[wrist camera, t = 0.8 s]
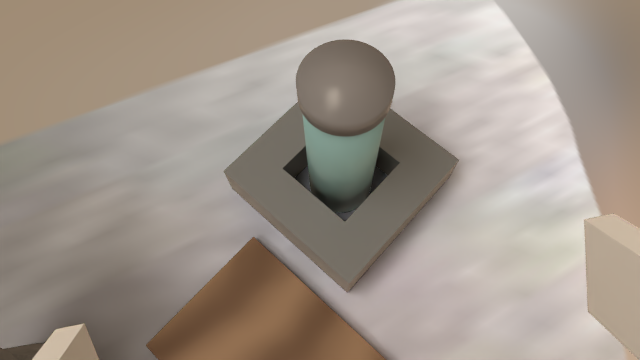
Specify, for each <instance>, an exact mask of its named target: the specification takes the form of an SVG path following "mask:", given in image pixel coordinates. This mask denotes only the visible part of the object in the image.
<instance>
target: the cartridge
mask: <svg viewBox="0 0 640 360" xmlns="http://www.w3.org/2000/svg"><path fill="white" fill-rule="evenodd" d="M296 88H297V97H298V104H299V107H300V110H301V112H302V114H303V124H304V134H305V143H306V153H307V163H308V172H309V182H310V190H311V193H312V194H313V195H314V196H315V197H317V198H318V199H319V200H320V201H321V202H322V203H324V204H325V205H326V206H327V207H328V208H329V209H331V210H332V211H333V212H339V213H343V212H349V211H352V210H354V209H356V208H358V207H359V206H360V205H361V204H362V203H363V202H364V201H365V200H366V199H367V197H368V196H369V193H370V190H371V185H372V180H373V175H374V170H375V165H376V160H377V155H378V151H379V146H380V141H381V136H382V131H383V126H384V121H385V117H386V115H387V114H388V112H389V110H390V107H391V103H392V99H393V94H394V89H395V75H394V71H393V68H392V66H391V64H390V62H389V61H388V59H387V58H386V57H385V56H384V55H383V54H382V53H381V52H380V51H379V50H377V49H376V48H374V47H372V46H370V45H368V44H366V43H363V42H360V41H355V40H335V41H331V42H328V43H325V44H322V45H320V46H318V47H317V48H315V49H313V50H312V51H311V52H310V53H309V54H308V55H307V56H306V57H305V58H304V59H303V61H302V62H301V64H300V66H299V68H298V71H297V75H296Z"/></svg>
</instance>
